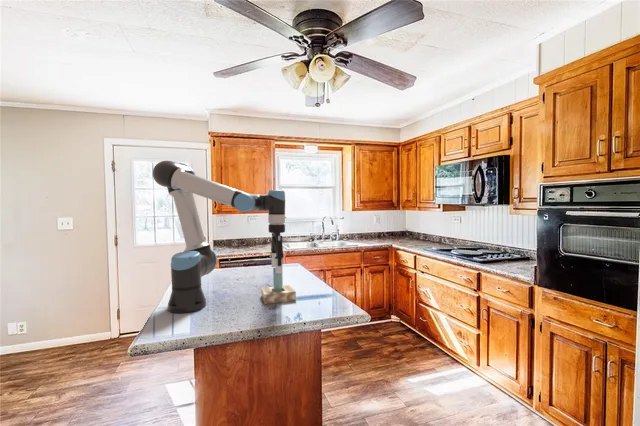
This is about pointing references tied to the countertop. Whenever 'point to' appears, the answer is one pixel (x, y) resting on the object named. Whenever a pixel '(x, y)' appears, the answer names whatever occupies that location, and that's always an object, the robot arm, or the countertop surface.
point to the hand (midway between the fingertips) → (276, 269)
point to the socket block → (278, 294)
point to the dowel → (277, 280)
